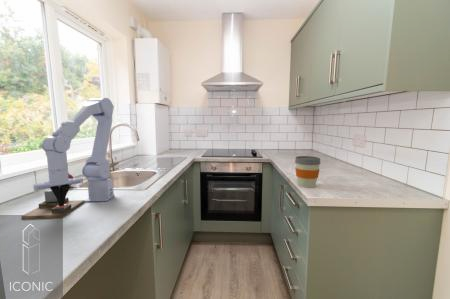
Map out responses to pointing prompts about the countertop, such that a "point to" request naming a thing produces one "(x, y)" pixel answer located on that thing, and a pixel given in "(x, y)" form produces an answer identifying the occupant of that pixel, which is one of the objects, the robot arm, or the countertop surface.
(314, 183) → the reusable coffee cup
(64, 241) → the countertop surface
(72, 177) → the onion
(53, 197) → the block
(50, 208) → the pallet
